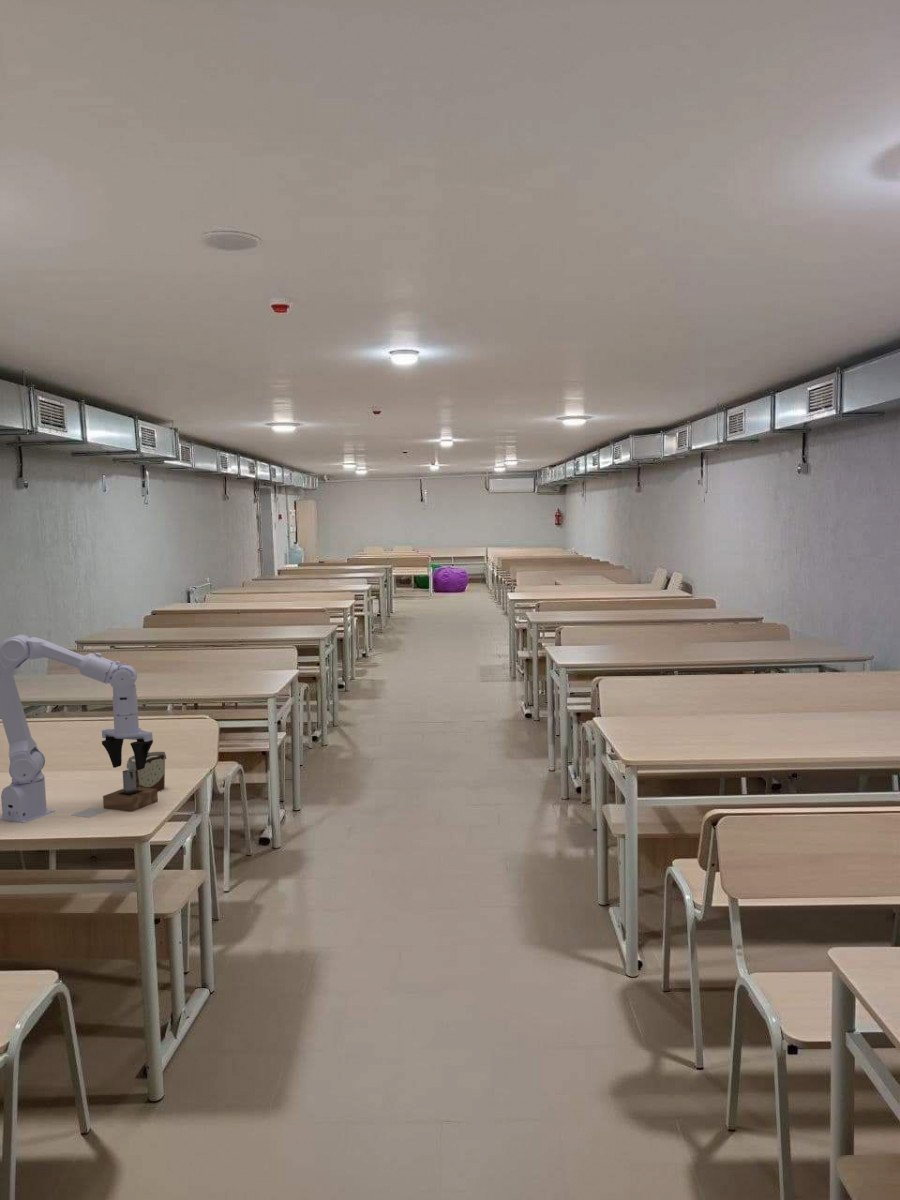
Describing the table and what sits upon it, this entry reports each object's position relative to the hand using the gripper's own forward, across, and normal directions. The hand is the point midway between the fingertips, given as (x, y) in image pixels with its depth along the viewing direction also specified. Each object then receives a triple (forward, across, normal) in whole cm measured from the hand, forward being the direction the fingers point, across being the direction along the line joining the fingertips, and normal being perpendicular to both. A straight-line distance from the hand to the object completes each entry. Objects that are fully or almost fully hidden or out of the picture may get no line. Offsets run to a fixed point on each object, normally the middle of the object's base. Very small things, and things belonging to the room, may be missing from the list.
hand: (128, 767), depth 220 cm
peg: (+10, 0, 0) cm, 10 cm away
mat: (+10, +5, +8) cm, 14 cm away
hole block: (+10, 0, 0) cm, 10 cm away
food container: (+10, +5, -10) cm, 15 cm away
